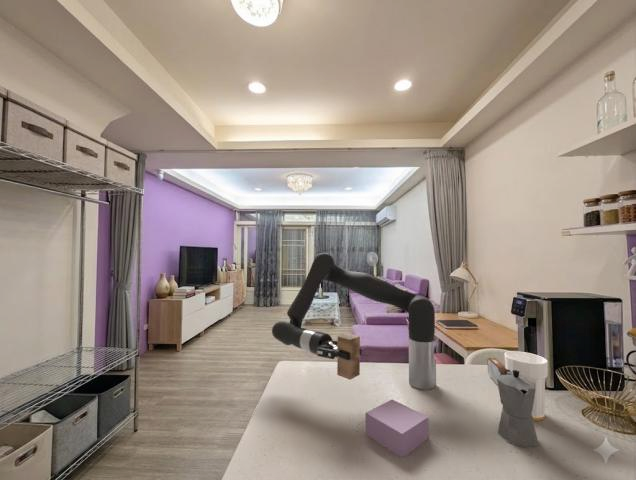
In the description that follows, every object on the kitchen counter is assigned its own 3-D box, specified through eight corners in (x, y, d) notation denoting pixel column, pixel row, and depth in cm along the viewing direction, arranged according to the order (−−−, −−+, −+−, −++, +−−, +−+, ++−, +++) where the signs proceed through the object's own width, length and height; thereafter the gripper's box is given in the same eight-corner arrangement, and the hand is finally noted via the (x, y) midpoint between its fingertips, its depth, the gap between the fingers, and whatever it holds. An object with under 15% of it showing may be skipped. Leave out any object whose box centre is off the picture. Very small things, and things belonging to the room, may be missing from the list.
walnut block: (346, 370, 95) (347, 333, 96) (359, 374, 92) (359, 336, 92) (337, 374, 91) (337, 336, 92) (350, 379, 88) (350, 339, 88)
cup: (543, 408, 95) (542, 354, 96) (554, 426, 85) (552, 366, 85) (502, 400, 100) (501, 349, 100) (508, 417, 89) (507, 359, 90)
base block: (392, 419, 88) (392, 399, 88) (428, 439, 79) (428, 416, 79) (365, 434, 81) (365, 412, 81) (402, 458, 71) (402, 433, 72)
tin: (510, 392, 106) (510, 368, 106) (501, 391, 106) (500, 368, 107) (494, 375, 120) (493, 354, 121) (485, 374, 121) (485, 354, 121)
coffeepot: (548, 456, 72) (546, 383, 73) (505, 448, 75) (503, 377, 76) (525, 422, 87) (523, 361, 88) (489, 416, 90) (488, 357, 90)
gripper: (301, 335, 96) (341, 347, 85) (329, 327, 107) (368, 337, 95) (300, 358, 96) (341, 373, 85) (329, 348, 107) (368, 360, 95)
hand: (355, 354), depth 90 cm, fingers closed on walnut block, 5 cm apart
